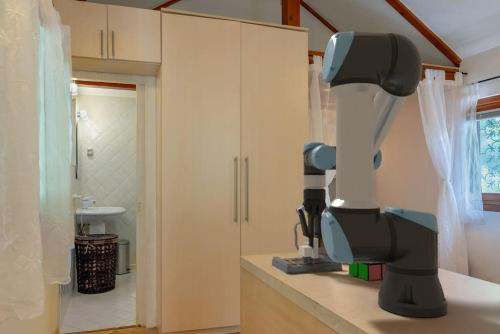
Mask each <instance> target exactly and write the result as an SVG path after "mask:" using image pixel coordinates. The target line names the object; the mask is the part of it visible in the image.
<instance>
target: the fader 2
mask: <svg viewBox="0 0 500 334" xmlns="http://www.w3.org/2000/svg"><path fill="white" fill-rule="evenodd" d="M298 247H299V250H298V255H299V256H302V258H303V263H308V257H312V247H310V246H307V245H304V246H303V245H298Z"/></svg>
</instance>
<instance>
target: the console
mask: <svg viewBox="0 0 500 334" xmlns="http://www.w3.org/2000/svg"><path fill="white" fill-rule="evenodd" d="M271 265H272V266H273V267H275V268H276V269H278V270H280V271H282V272H283V273H285V274H286V275H287V274H300V273H303V274H305V273H319V272H320V271H321V272H332V271H334V272H335V271H343V263H337V262H334V261H333V260H331V259H330V257H329V256H327V255H324V254H319V257H318V258H316V259H314V258H311V259H308V263H303V257H293V258H292V257H290V258H281V257H279V256H272V259H271Z"/></svg>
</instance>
